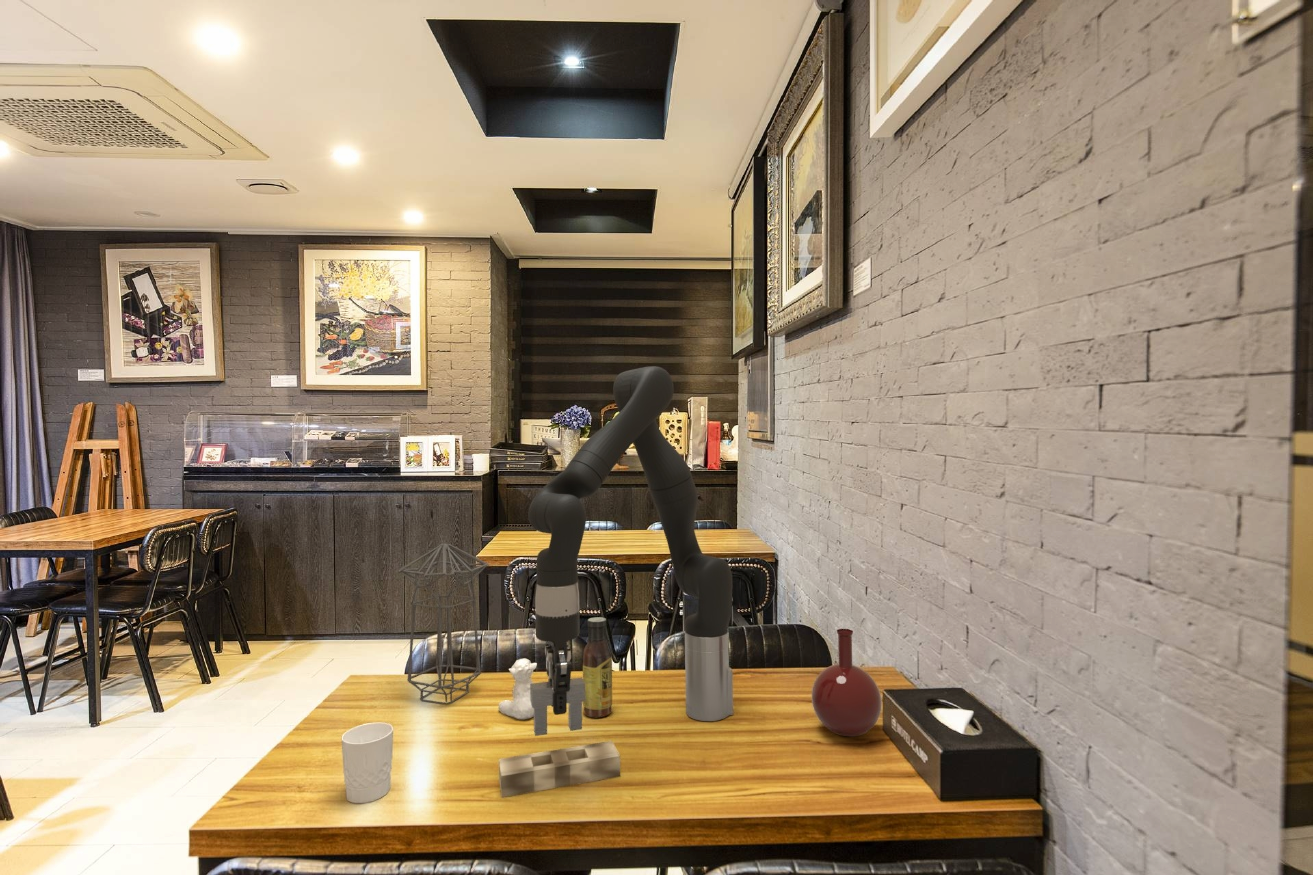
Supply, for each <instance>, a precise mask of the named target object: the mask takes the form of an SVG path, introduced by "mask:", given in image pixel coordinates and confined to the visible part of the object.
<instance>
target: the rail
mask: <svg viewBox="0 0 1313 875" xmlns="http://www.w3.org/2000/svg"><path fill="white" fill-rule="evenodd" d="M618 777H621V755H620V753H619V751H618V750H617V748H616V746H615V744H614V742H613V740H609V741H608V740H607V741H602V742H598V743H597V742H596V743H589V744H583V745H577V746H571V747H570V746H569V747H565V748H560V749H558V748H557V749H552V750H545V751H540V752H534V753H533V752H532V753H527V754H522V755H521V754H520V755H515V756H507V757H502V758H499V759H498V781H499V782H498V783H499V789H500V795H501V796H500V797H501V798H506V797H512V796H518V795H523V794H528V793H535V792H540V791H546V790H552V789H557V788H562V787H563V788H565V787H568V786H569V787H570V786H574V785H575V786H576V785H579V784H586V783H591V782H596V781H603V780H607V779H613V778H618Z"/></svg>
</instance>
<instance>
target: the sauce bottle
mask: <svg viewBox="0 0 1313 875" xmlns="http://www.w3.org/2000/svg"><path fill="white" fill-rule="evenodd" d="M607 625H608V624H607V618H605V617H602V616H599V617H598V616H597V617H596V616H594V617H590V618H588V619H587V628H588V637H587V639H588V642H587V644H586V645H585V646H584V649H583V654H582V655H583V656H582V658H583V659H582V661H583V662H582V679H583V681H584V682H585V701H582V707H583V713H584V715H585V716H587V717H589V718H595V719H596V718H597V719H599V718H602V717H606V716H608V715H610V714H611V713H612V706H613V656H612V652H611V650H610V647H609V644H608V640H607V635H606V634H607V632H606V631H607V629H606V627H607Z"/></svg>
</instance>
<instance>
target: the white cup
mask: <svg viewBox="0 0 1313 875" xmlns="http://www.w3.org/2000/svg"><path fill="white" fill-rule="evenodd" d="M393 748H394V727H393V725H392V724H390V723H389V722H388V723H386V722H369V723H364V724H360V725H357V726H354V727H352V728H350V729H348V730H346V731H344V733H343V734H342V736H341V751H342V752H341V753H342V754H341V755H342V765H343V767H342V768H343V770H342V771H343V779H344V781H343V782H344V783H345V796H346V800H347V801H349V802H350V803H352V804H365V803H371V802H375V801H376V800H379V799H381V798H383V797H384V796H386V795H387V794H388V793H389V791H390V789H391V785H392V784H391V781H392V780H391V779H392V778H391V777H392V774H391V773H392V769H393V767H392V766H393V751H394V750H393Z"/></svg>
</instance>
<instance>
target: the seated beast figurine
mask: <svg viewBox="0 0 1313 875" xmlns="http://www.w3.org/2000/svg"><path fill="white" fill-rule="evenodd" d="M537 664H538V663H537V662H531V660H529V659H528V658H526V657H525V658H519V659H516V660H515V662H514V664H513V665H512V666H511V668H508V670H509V672H510V675H511V676H512V678H513V679H514V685H513V688H512V689H513V690H512V701H511V700H509V699H504V700H502V701H499V704H498V710H499V711H500V713H501V714H503V715H505V716H508V717H511V718H514V719H516V720H519V721H520V720H522V721H523V720H528V719H532V718H534V708H532V705H531V701H530V684H532V683H534V682H533V679H532V678H531V677H532V675H533V673H534V670H536V668H537Z"/></svg>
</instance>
